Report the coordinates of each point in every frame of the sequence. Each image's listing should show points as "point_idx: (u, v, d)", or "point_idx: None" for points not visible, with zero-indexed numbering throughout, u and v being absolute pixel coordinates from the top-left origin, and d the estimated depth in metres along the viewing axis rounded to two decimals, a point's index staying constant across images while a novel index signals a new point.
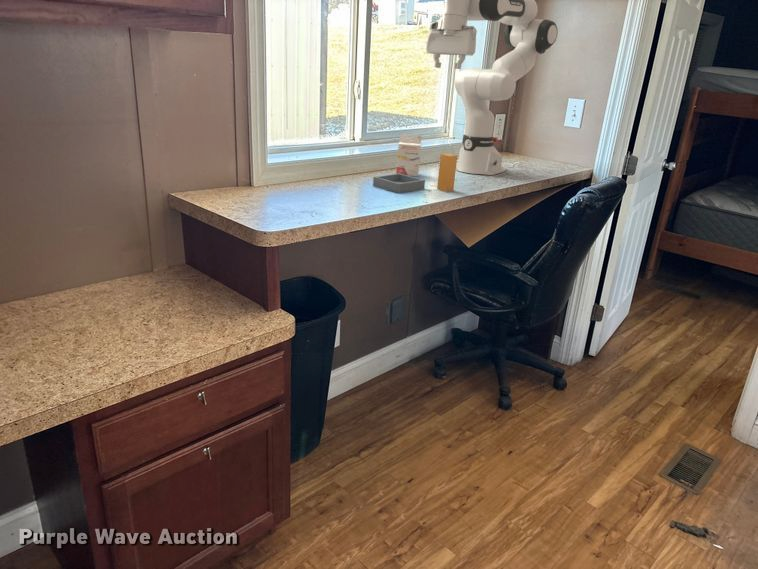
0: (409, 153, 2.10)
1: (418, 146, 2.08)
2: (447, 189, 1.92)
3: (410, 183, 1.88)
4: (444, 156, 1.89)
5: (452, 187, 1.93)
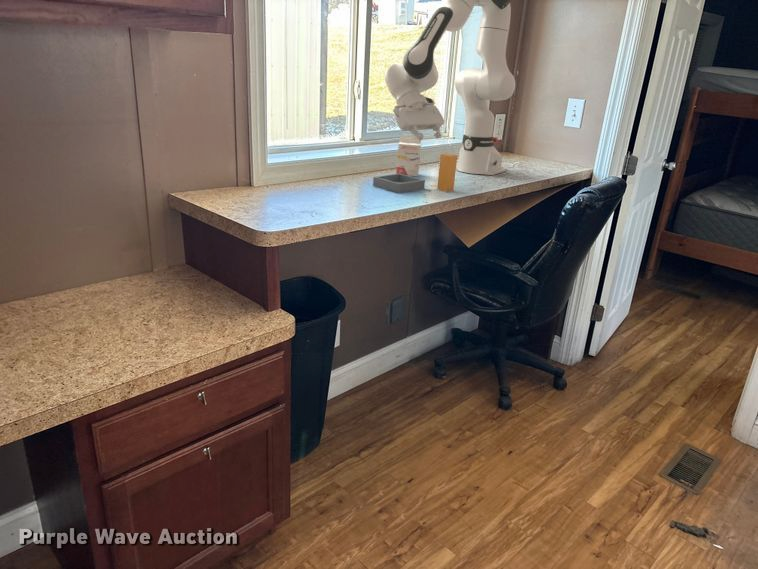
0: (409, 153, 2.10)
1: (418, 146, 2.08)
2: (447, 189, 1.92)
3: (410, 183, 1.88)
4: (444, 156, 1.89)
5: (452, 187, 1.93)
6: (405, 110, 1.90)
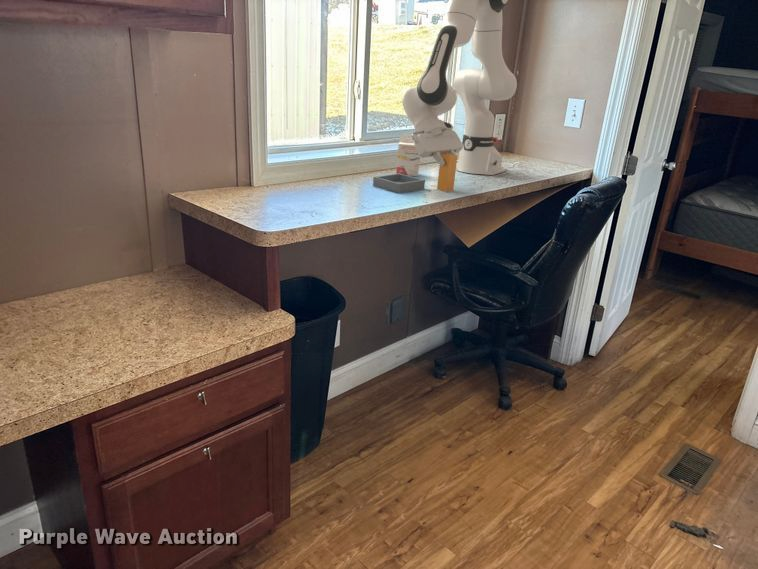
0: (409, 153, 2.10)
1: None
2: (447, 189, 1.92)
3: (410, 183, 1.88)
4: (444, 156, 1.89)
5: (452, 187, 1.93)
6: (424, 136, 1.86)
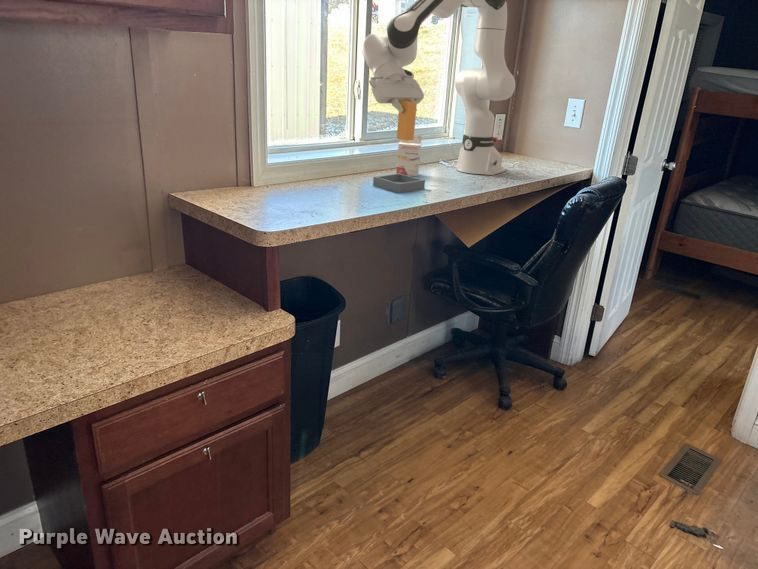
0: (409, 153, 2.10)
1: (418, 146, 2.08)
2: (406, 138, 1.85)
3: (410, 183, 1.88)
4: (403, 103, 1.81)
5: (412, 137, 1.86)
6: (381, 81, 1.79)
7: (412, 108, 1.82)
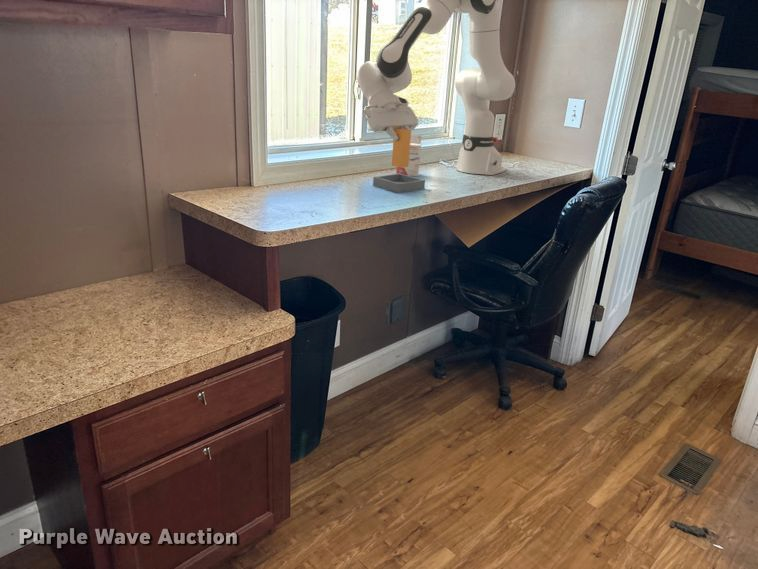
0: (409, 153, 2.10)
1: (418, 146, 2.08)
2: (401, 165, 1.88)
3: (410, 183, 1.88)
4: (397, 131, 1.85)
5: (407, 163, 1.90)
6: (376, 110, 1.83)
7: (406, 136, 1.86)
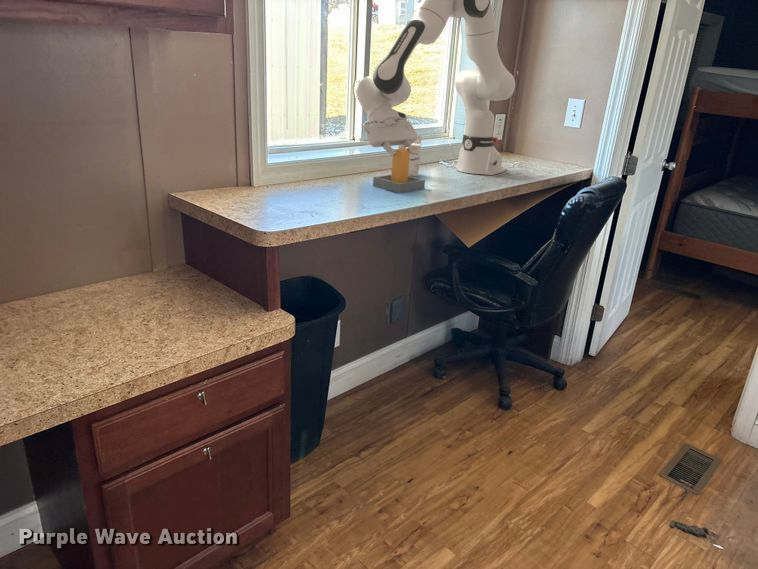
0: None
1: (418, 146, 2.08)
2: None
3: (410, 183, 1.88)
4: None
5: None
6: (375, 126, 1.85)
7: (405, 156, 1.88)
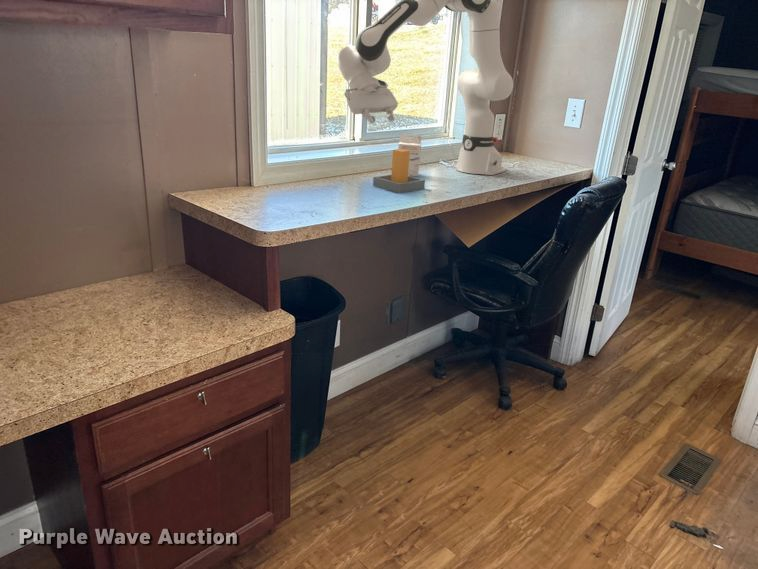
0: None
1: (418, 146, 2.08)
2: None
3: (410, 183, 1.88)
4: (396, 152, 1.88)
5: None
6: (356, 93, 1.89)
7: (405, 156, 1.88)
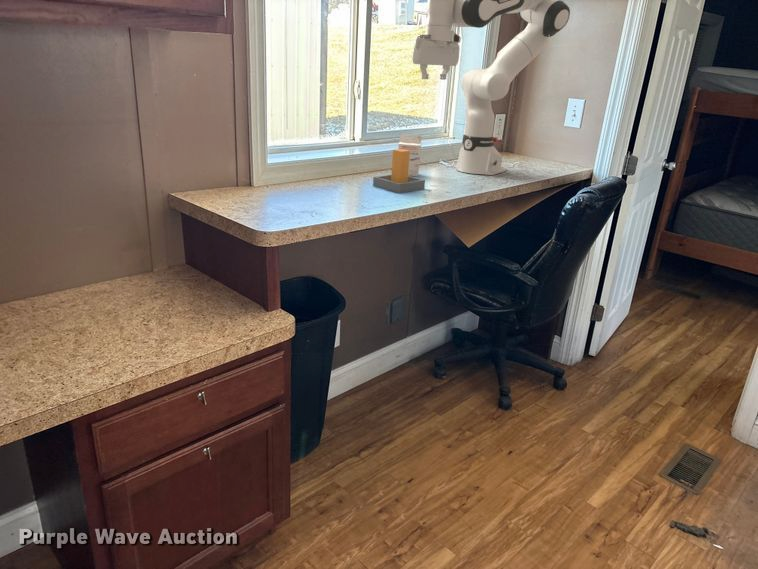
0: None
1: (418, 146, 2.08)
2: None
3: (410, 183, 1.88)
4: (396, 152, 1.88)
5: None
6: (427, 45, 1.83)
7: (405, 156, 1.88)
